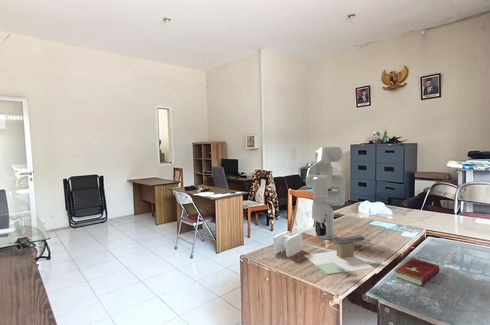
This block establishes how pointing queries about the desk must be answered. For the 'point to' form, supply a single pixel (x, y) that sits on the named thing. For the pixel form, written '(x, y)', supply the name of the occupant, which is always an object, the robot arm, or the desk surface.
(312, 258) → the cable panel
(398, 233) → the desk surface
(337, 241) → the bar
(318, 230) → the cable plug
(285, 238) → the cable organizer
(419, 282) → the hardcover book
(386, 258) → the desk surface
